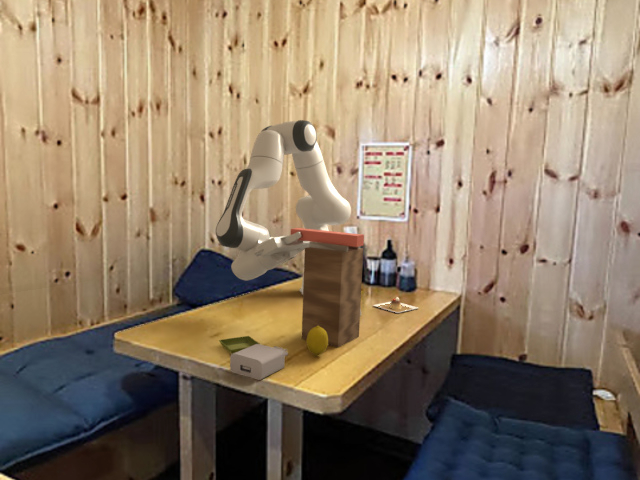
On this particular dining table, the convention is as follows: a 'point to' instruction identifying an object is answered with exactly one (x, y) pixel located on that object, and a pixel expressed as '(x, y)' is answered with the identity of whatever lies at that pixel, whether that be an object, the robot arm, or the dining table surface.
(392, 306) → the dessert
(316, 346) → the lemon
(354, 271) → the wooden knife block
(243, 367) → the charger
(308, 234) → the salmon red bar
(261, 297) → the dining table surface
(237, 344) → the green square tray
